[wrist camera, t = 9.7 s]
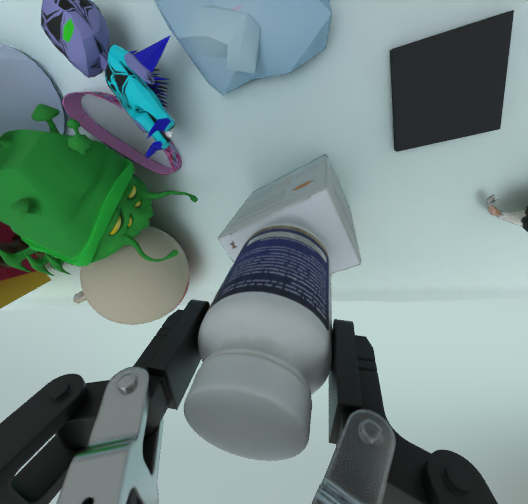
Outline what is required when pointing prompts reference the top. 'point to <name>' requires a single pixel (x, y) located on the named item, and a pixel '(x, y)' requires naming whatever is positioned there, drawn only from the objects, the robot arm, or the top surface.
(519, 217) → the figurine
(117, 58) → the figurine
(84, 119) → the headband
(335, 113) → the top surface
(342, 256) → the small box
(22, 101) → the soap bottle
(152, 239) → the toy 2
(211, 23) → the polygonal blue rock
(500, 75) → the pad
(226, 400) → the pill bottle
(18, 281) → the toy
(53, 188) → the figurine
